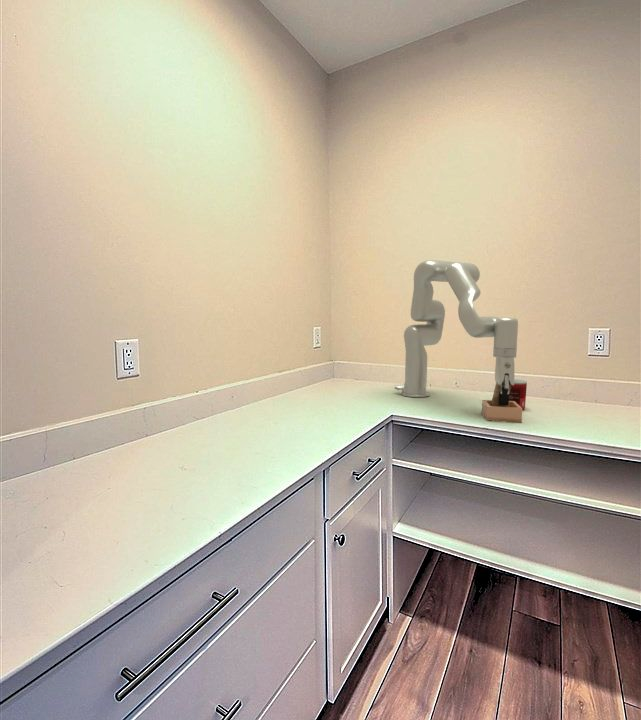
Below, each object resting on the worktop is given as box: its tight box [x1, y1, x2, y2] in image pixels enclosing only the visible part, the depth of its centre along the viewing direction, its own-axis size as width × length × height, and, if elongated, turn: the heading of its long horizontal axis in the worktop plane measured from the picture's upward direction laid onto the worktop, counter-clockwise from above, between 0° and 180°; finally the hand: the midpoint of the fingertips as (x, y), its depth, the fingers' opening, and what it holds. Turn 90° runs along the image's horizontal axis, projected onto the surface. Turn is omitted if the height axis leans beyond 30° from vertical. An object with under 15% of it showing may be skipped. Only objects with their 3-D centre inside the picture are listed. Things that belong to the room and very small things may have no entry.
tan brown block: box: [491, 381, 511, 407], centre depth 151 cm, size 4×3×12 cm, turn 78°
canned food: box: [509, 378, 528, 411], centre depth 165 cm, size 8×8×11 cm
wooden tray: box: [481, 399, 523, 424], centre depth 152 cm, size 11×11×5 cm
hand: (502, 403), depth 151 cm, fingers open, 3 cm apart
